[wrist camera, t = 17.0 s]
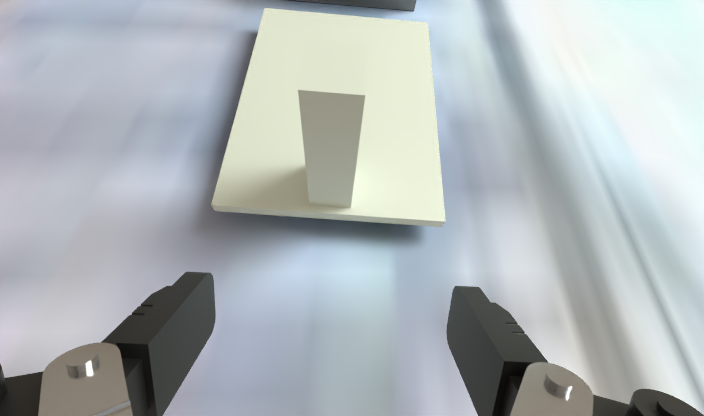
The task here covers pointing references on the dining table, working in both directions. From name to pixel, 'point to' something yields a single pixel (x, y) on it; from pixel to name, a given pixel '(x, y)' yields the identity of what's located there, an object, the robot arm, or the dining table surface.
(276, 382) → the dining table surface
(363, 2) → the tub
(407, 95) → the lid
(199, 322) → the robot arm
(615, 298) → the dining table surface
